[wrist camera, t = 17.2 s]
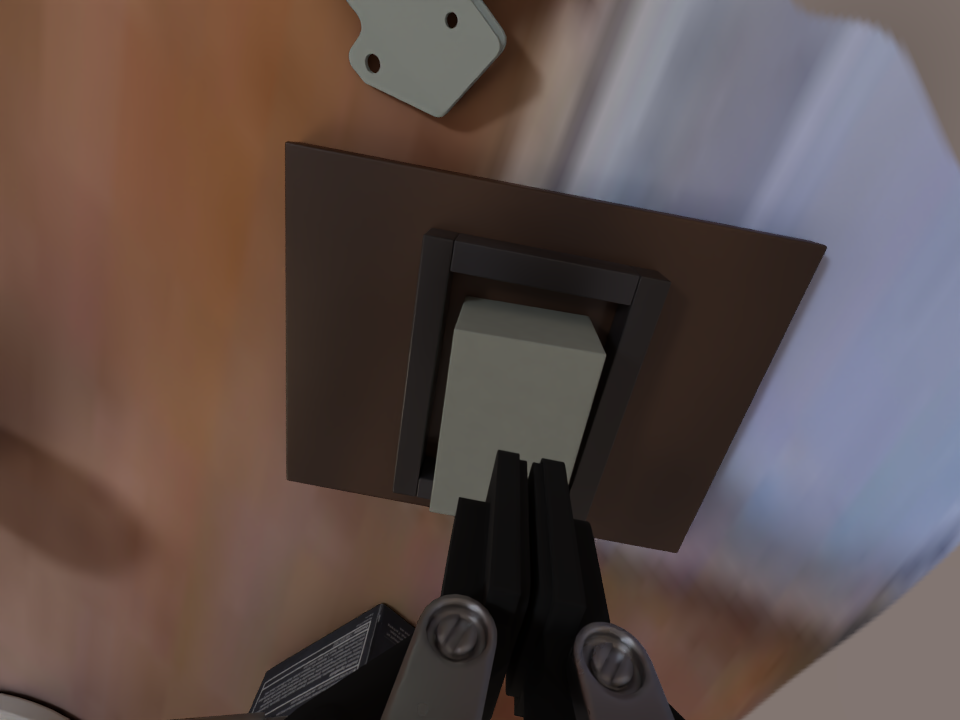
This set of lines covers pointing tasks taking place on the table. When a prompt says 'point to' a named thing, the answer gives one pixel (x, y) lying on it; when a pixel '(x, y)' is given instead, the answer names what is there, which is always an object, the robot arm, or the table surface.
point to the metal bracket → (425, 49)
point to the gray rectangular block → (512, 393)
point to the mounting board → (531, 282)
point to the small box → (329, 661)
